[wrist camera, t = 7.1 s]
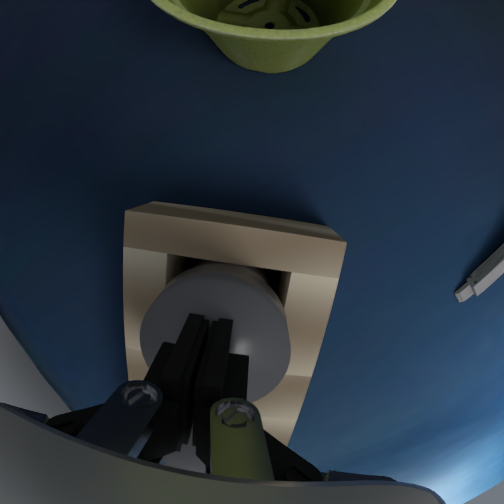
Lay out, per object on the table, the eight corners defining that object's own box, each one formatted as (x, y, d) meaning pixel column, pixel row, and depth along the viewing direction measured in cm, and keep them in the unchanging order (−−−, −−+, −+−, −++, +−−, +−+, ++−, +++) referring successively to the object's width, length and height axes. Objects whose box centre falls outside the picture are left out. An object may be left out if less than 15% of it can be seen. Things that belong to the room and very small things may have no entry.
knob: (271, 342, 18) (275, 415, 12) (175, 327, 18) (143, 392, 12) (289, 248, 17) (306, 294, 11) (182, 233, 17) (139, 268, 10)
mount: (272, 442, 22) (273, 479, 18) (153, 423, 21) (140, 457, 18) (328, 226, 17) (346, 242, 13) (153, 201, 17) (125, 210, 13)
